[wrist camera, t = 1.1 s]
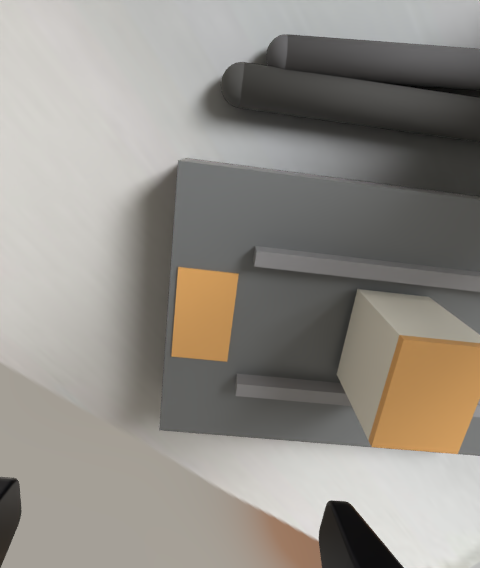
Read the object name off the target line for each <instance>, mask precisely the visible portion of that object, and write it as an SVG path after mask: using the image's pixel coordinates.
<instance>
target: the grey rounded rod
mask: <svg viewBox="0 0 480 568" xmlns="http://www.w3.org/2000/svg"><path fill="white" fill-rule="evenodd" d="M221 89H222V93H223V96H224V97H225V99H226V100H227V102H228V103H230V104H231V105H233V106H235V107H238V108H244V109H251V110H258V111H265V112H272V113H279V114H286V115H293V116H300V117H307V118H314V119H321V120H328V121H335V122H342V123H349V124H356V125H363V126H370V127H378V128H385V129H392V130H399V131H406V132H413V133H420V134H427V135H434V136H441V137H448V138H455V139H462V140H469V141H476V142H480V98H478V97H471V96H465V95H458V94H451V93H445V92H438V91H432V90H425V89H418V88H412V87H405V86H398V85H392V84H385V83H378V82H372V81H365V80H358V79H352V78H345V77H338V76H331V75H323V74H316V73H309V72H301V71H294V70H286V69H280V68H276V67H272V66H266V65H259V64H252V63H246V62H238V63H235V64H233V65H231V66H230V67H229V68H228V69H227V70H226V71H225V73H224V75H223V77H222V82H221Z"/></svg>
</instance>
